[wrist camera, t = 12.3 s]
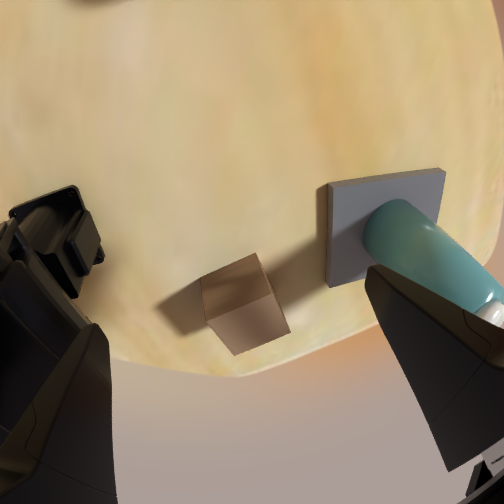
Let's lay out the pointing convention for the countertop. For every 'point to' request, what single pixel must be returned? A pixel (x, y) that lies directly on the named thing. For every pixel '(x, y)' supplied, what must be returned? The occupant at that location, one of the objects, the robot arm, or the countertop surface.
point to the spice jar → (432, 259)
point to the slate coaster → (360, 210)
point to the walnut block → (242, 305)
